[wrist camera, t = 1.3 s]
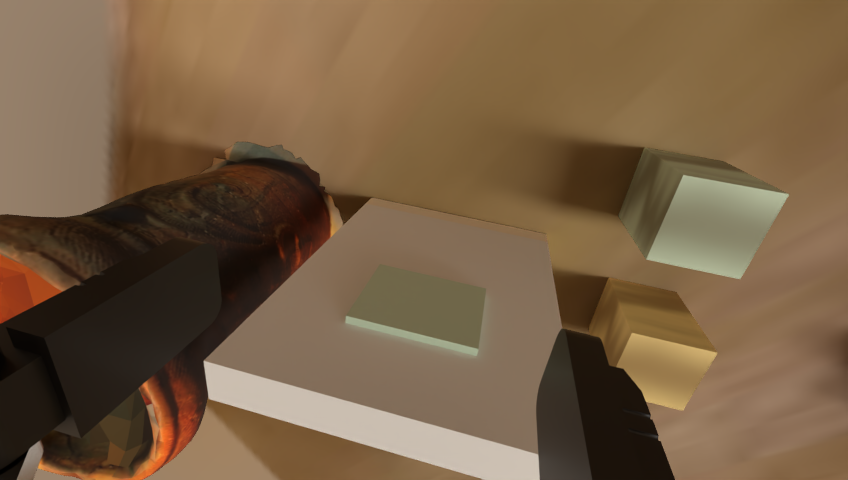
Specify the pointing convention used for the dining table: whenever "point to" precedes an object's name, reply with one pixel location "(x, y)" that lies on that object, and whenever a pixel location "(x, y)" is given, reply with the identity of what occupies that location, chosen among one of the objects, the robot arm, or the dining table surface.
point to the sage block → (698, 212)
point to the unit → (406, 341)
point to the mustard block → (652, 341)
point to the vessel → (139, 233)
